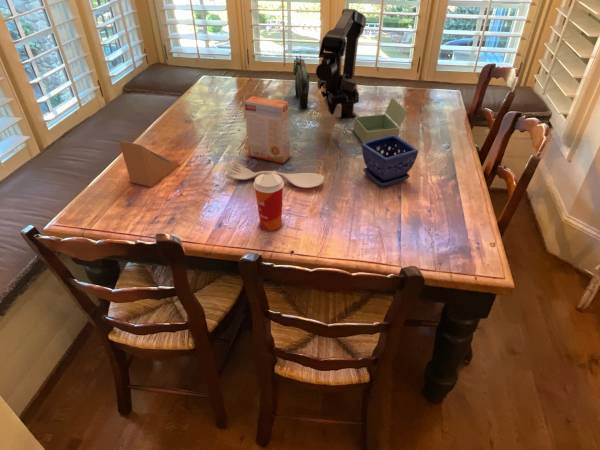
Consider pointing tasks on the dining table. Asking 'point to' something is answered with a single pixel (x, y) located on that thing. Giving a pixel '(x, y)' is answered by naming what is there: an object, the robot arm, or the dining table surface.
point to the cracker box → (268, 129)
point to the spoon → (296, 179)
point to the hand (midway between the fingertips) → (331, 113)
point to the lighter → (337, 110)
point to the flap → (396, 112)
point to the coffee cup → (269, 200)
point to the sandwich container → (144, 164)
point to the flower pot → (388, 160)
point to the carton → (374, 127)
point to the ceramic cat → (301, 82)
